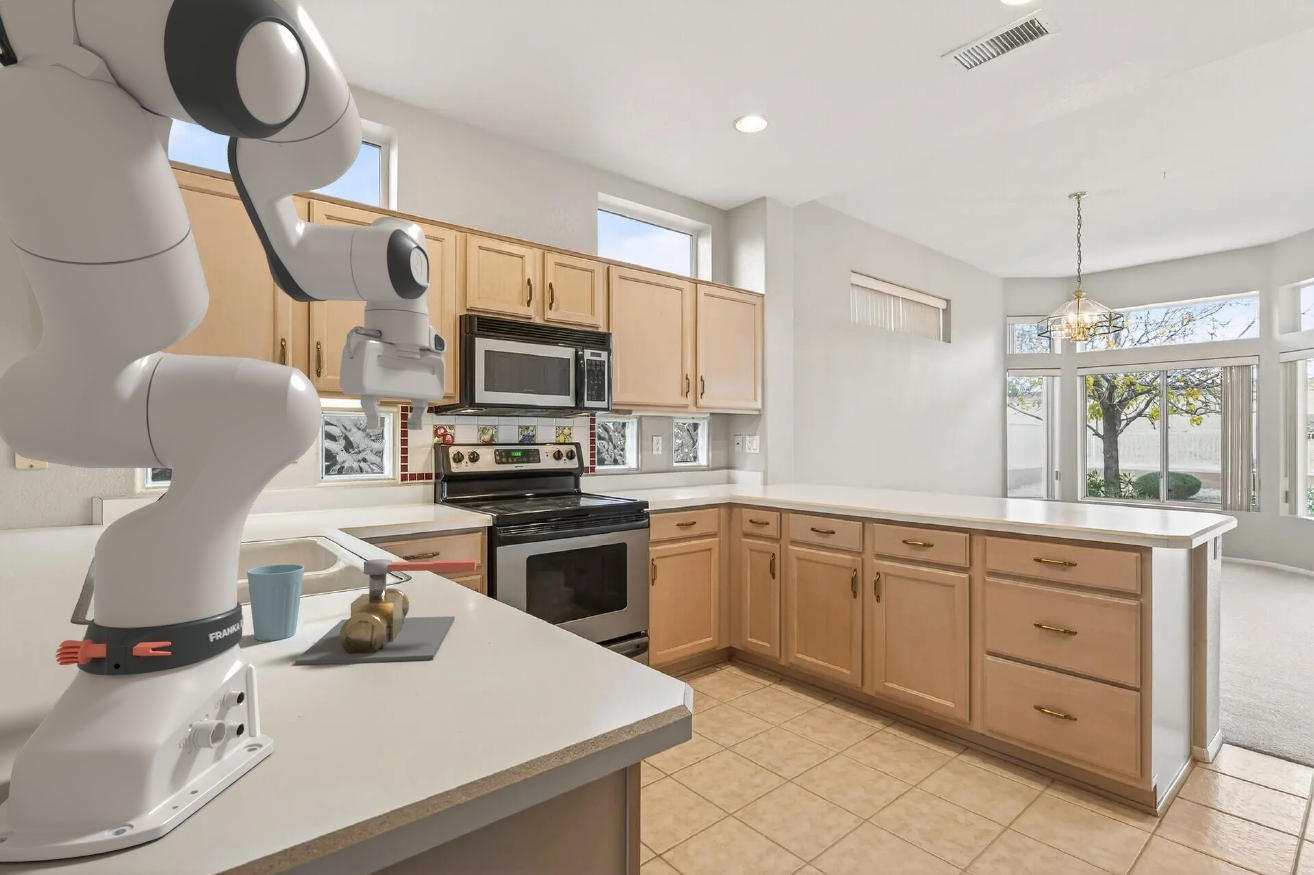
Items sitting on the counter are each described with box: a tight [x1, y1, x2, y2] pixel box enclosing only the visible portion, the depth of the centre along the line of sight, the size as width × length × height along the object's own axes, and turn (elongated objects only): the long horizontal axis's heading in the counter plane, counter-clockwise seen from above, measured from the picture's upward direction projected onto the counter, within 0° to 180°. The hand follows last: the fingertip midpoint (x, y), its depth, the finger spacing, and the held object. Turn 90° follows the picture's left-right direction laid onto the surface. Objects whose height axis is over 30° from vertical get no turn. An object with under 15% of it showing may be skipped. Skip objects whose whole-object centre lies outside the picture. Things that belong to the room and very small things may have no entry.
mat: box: [294, 616, 455, 666], centre depth 100 cm, size 20×18×1 cm
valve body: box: [340, 574, 410, 654], centre depth 100 cm, size 16×6×10 cm, turn 9°
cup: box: [246, 563, 305, 642], centre depth 101 cm, size 8×8×10 cm
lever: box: [363, 558, 477, 576], centre depth 101 cm, size 16×4×2 cm, turn 99°
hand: (396, 429), depth 95 cm, fingers open, 8 cm apart
